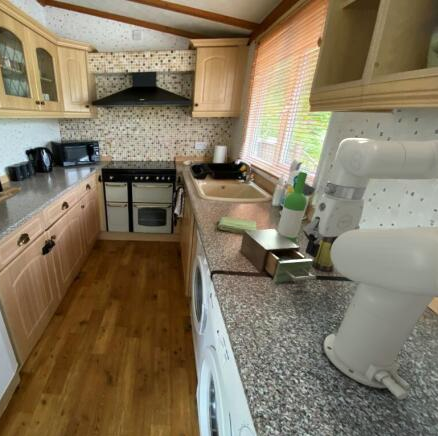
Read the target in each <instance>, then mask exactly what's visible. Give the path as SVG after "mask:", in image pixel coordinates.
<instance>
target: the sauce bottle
mask: <svg viewBox="0 0 438 436" xmlns="http://www.w3.org/2000/svg"><path fill="white" fill-rule="evenodd" d="M333 238H334V237H323V238H322V240H321V241H320V242H319V243H318V244H320V248H319V251H318V254H317V256H316V257H313V263H312V266H314V267H315V268H316V269H319V270H321V271H332V270H333V268H334V267H335V266H334V265H333V263H332V260H331V256H330V250H329V249H330V246H331V243H332V240H333ZM335 238H336V237H335Z"/></svg>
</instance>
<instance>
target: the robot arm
mask: <svg viewBox="0 0 438 436" xmlns="http://www.w3.org/2000/svg"><path fill="white" fill-rule="evenodd" d="M434 179H435V180H436V179H438V139H433V140H421V141H420V140H378V139H373V138H362V137H361V138H358V137H349V138H348V137H347V138H345V139H343V140H341V142H340V143H339V146H338V148H337V151H336V154H335V158H334V160H333V164H332V167H331V170H330V174H329V176H328V181H327V183H326V187H324V188H323V193H324V194H322V195H321V197H320V199H319V201H318V203H317V205H316V206H315V209H314V212H313V216H312V218H311V220H310V222H309V223H308V224H307V225H305V226H304V227H303V228H302V232H303V233H304V236H305V237H306V239H307V240H308V242H307V245H306V248H305V253H306V254H308V255H309V256H310V257H312V258H314V257H316V256H317V254H318V251H319V248H320V244H318V243H319V242H320V241H321V240H322V238H323V237H334V238H333V240H332V243H331V246H330V249H329V250H330V256H331V260H332V263H333V265H334V266H333V267H334V269H336V271H337V272H338V273H339V274H340V275H342V276H343V277H344V278H346V279H348V280H350V281H352V282H355V283H359V284H358V286H357V287H356V289H355V291H354V294H353V296H352V298H351V300H350V303H349V305H348V307H347V310H346V313H345V314H344V317H343V319H342V321H341V324H340V326H339V329H338V330H337V332H335V333H330V334H329V335H327V336H326V337H325V338H324V340H323V345H322V346H323V350H324V353H325V355H326V357H327V358H328V359H329V361H330V362H331V363H332V364H333V365H334V366H335V367H336V368H337V369H338V370H339V371H340V372H342V373H343V374H344V375H346V376H348V377H349V378H351V380H352V379H353V380H354V381H356V382H358V383H360V384H362V385H365V386H369V387H371V388H376V389H388V390H389V392H391V393H392V394H393V395H394V396H395V398H397V399H398V400H403V399H405V398H407V397H408V395H409V393H408V391H407V390H409V389H410V388H411V384H409V383H408V382H407V381H406V380H405V379H403V378H402V377H401V376H400V375H399V372H398V369H399V368H400V366H401V365H400V364H399V363H398V362H397V361H396V359H397V358H398V355H399V354H400V352H401V351H402V349H403V347H404V345H405V344H406V342H407V341H408V339H409V338H410V335H411V334H412V332H413V330H415V327H416V326H417V324H418V322H420V319H421V318H422V316H423V314H424V313H425V311H426V310H427V308H428V307H429V306H430V304H431V303H432V302H433V300H434V299H435V298H438V226H402V227H401V226H399V227H381V228H361V227H360V222H361V218H362V215H363V211H364V206H365V205H364V204H365V198H364V195H365V192H366V190H367V187H368V184H369V181H370V180H409V181H410V180H411V181H413V180H434ZM316 235H317V236H316ZM335 237H336V238H335Z"/></svg>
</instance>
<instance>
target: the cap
mask: <svg viewBox="0 0 438 436" xmlns="http://www.w3.org/2000/svg"><path fill="white" fill-rule="evenodd" d="M288 260H294V259H292V258H290V257H287V256H282V257H280V259H279V261H288Z"/></svg>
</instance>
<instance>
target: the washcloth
mask: <svg viewBox="0 0 438 436" xmlns="http://www.w3.org/2000/svg"><path fill="white" fill-rule="evenodd" d="M217 228H218V230H220V231H225V232H230V233H235V234H241V235H243V233H244V231H248V230H258V227H257V222H256V221H254V220H250V219H245V218H235V217H230V216H221V217H219V221H218V224H217Z"/></svg>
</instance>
